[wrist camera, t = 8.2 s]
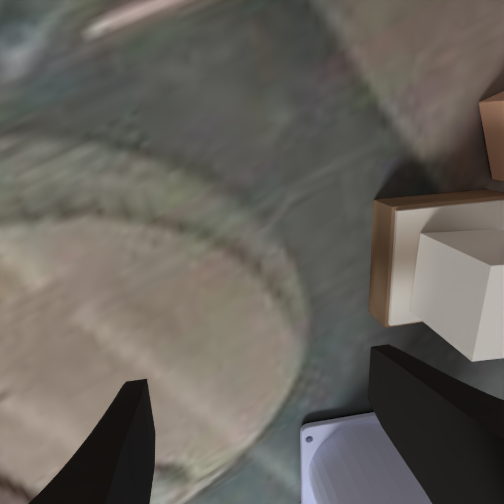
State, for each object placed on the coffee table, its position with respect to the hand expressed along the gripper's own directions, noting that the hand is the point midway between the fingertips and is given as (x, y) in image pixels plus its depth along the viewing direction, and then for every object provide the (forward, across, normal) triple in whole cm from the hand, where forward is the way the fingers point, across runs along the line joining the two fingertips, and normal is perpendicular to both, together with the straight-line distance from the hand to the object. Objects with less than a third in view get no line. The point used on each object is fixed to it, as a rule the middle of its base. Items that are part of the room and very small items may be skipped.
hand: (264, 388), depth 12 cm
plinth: (+10, -12, 0) cm, 16 cm away
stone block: (+8, -12, 0) cm, 14 cm away
